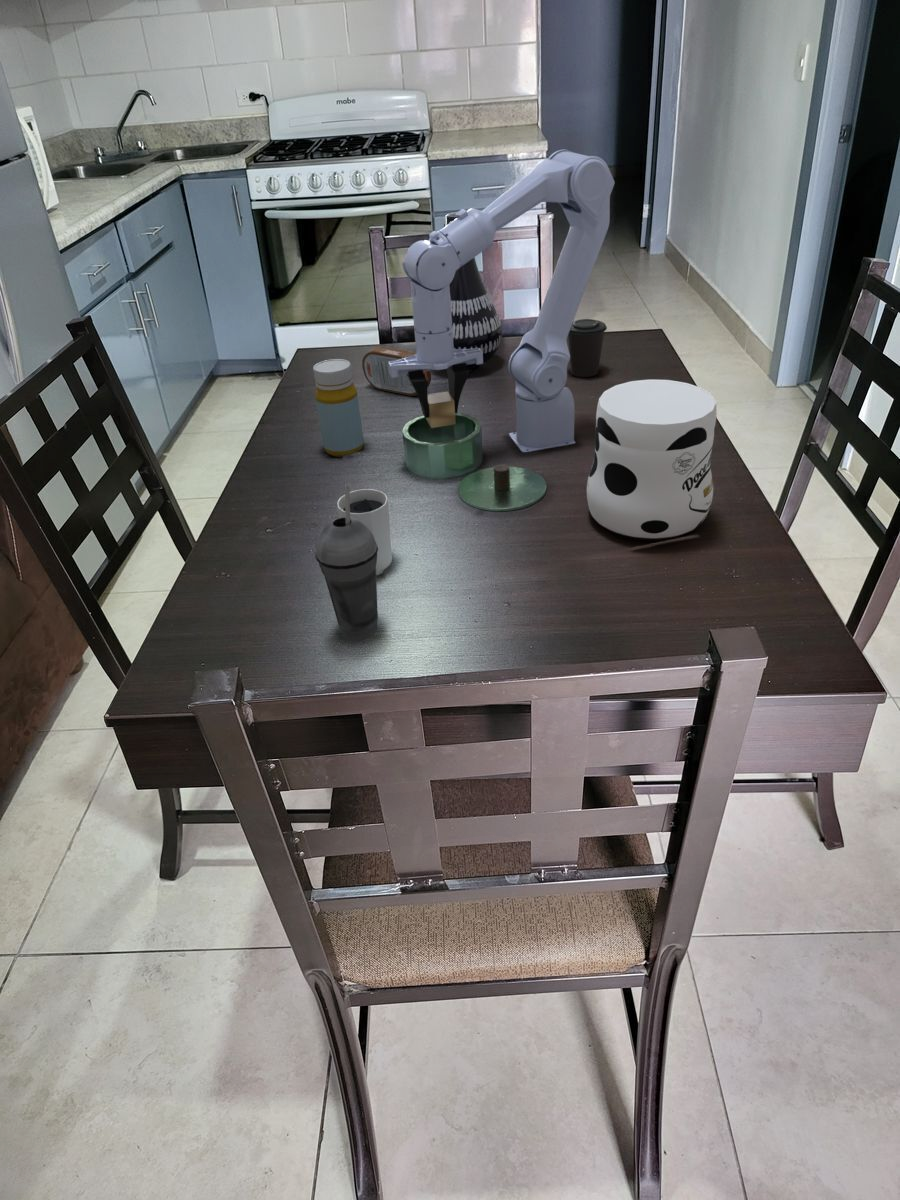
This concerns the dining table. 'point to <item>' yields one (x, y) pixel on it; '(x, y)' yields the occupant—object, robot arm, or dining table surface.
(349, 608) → the beverage cup
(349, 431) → the bottle
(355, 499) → the white cylindrical cup
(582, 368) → the coffee cup
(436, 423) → the block
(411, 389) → the tin
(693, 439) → the milk container
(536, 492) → the lid
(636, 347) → the dining table surface
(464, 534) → the dining table surface
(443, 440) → the jar
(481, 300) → the vase
